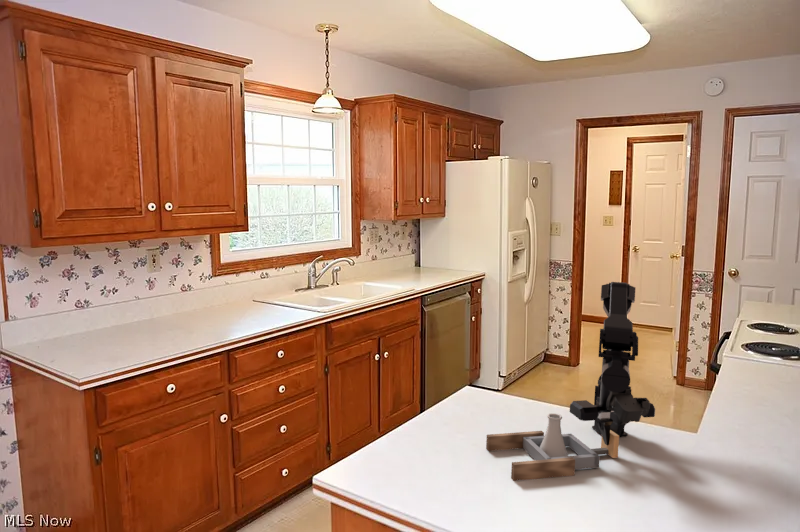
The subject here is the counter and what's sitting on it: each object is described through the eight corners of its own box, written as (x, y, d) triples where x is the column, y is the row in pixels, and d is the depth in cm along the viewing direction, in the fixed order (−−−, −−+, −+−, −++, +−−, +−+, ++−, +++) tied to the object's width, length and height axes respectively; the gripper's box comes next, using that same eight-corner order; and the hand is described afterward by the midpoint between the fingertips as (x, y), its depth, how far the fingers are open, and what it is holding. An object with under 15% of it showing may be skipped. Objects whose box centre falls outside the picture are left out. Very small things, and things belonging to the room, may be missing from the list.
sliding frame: (596, 441, 141) (598, 421, 140) (627, 464, 129) (628, 442, 128) (522, 447, 136) (523, 426, 136) (547, 472, 124) (548, 448, 124)
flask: (535, 462, 130) (537, 419, 129) (536, 449, 137) (539, 408, 136) (569, 467, 128) (571, 423, 127) (568, 453, 135) (571, 412, 134)
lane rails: (540, 444, 139) (541, 430, 139) (574, 475, 124) (575, 459, 124) (486, 448, 136) (486, 434, 136) (513, 480, 121) (514, 464, 121)
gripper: (596, 392, 123) (591, 462, 125) (673, 388, 127) (668, 457, 128) (570, 376, 134) (566, 441, 135) (642, 373, 137) (637, 436, 139)
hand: (609, 444), depth 134 cm, fingers closed, pressing on sliding frame
